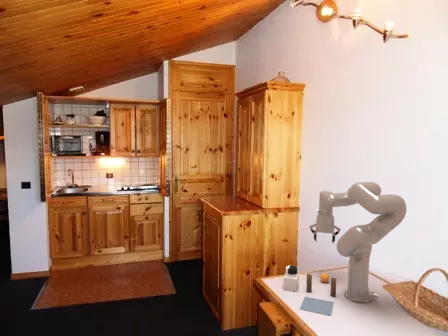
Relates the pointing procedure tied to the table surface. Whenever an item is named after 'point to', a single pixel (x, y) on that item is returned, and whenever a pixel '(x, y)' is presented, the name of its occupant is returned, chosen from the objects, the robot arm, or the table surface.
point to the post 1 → (309, 283)
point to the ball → (324, 277)
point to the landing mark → (317, 306)
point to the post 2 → (333, 287)
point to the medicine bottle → (291, 279)
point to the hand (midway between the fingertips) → (324, 241)
